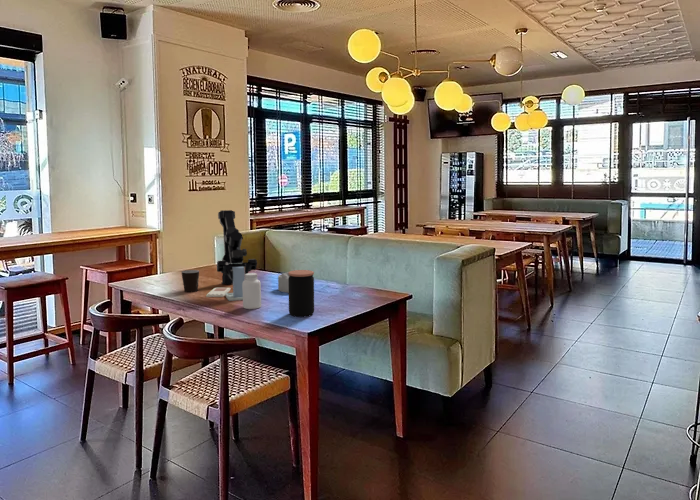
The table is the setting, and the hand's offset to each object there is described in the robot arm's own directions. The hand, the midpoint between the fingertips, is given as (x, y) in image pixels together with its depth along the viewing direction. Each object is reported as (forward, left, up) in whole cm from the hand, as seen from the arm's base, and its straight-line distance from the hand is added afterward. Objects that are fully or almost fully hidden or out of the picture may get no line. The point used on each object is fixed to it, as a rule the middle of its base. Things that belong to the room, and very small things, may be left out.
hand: (239, 279), depth 263 cm
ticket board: (0, -16, -9) cm, 18 cm away
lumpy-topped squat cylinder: (-28, +5, -9) cm, 30 cm away
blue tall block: (-1, -1, -8) cm, 8 cm away
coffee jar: (+2, +43, -9) cm, 44 cm away
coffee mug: (+5, -32, -9) cm, 33 cm away
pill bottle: (+8, +18, -9) cm, 22 cm away
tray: (-1, -1, -9) cm, 9 cm away
